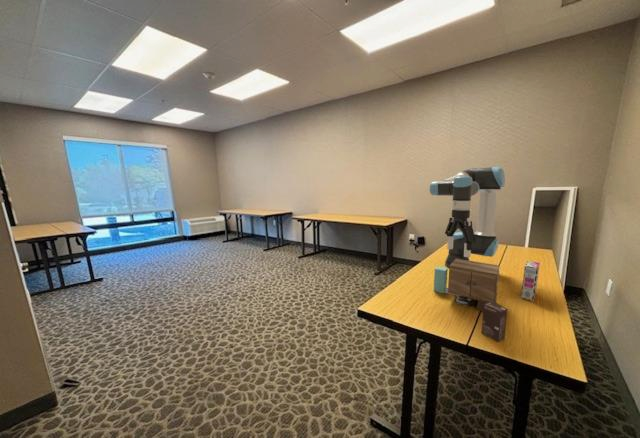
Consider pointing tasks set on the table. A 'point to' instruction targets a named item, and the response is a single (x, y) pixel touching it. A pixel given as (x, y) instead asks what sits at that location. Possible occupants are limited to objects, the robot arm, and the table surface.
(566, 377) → the table surface
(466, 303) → the disc
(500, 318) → the box
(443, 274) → the tool
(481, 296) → the wooden cabinet
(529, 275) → the candy bar box
